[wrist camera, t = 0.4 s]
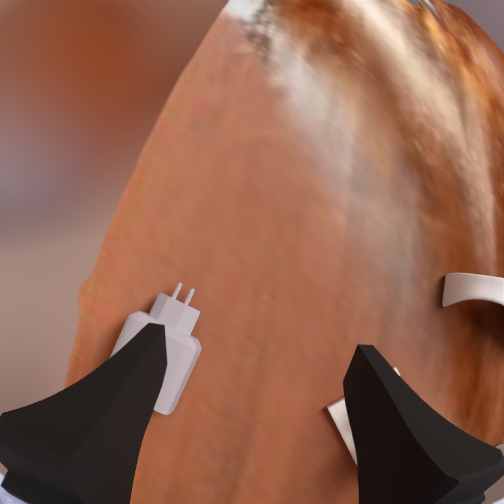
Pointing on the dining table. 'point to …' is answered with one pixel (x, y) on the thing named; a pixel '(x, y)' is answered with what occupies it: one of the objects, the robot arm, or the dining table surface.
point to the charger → (169, 343)
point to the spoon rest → (472, 288)
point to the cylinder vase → (495, 487)
